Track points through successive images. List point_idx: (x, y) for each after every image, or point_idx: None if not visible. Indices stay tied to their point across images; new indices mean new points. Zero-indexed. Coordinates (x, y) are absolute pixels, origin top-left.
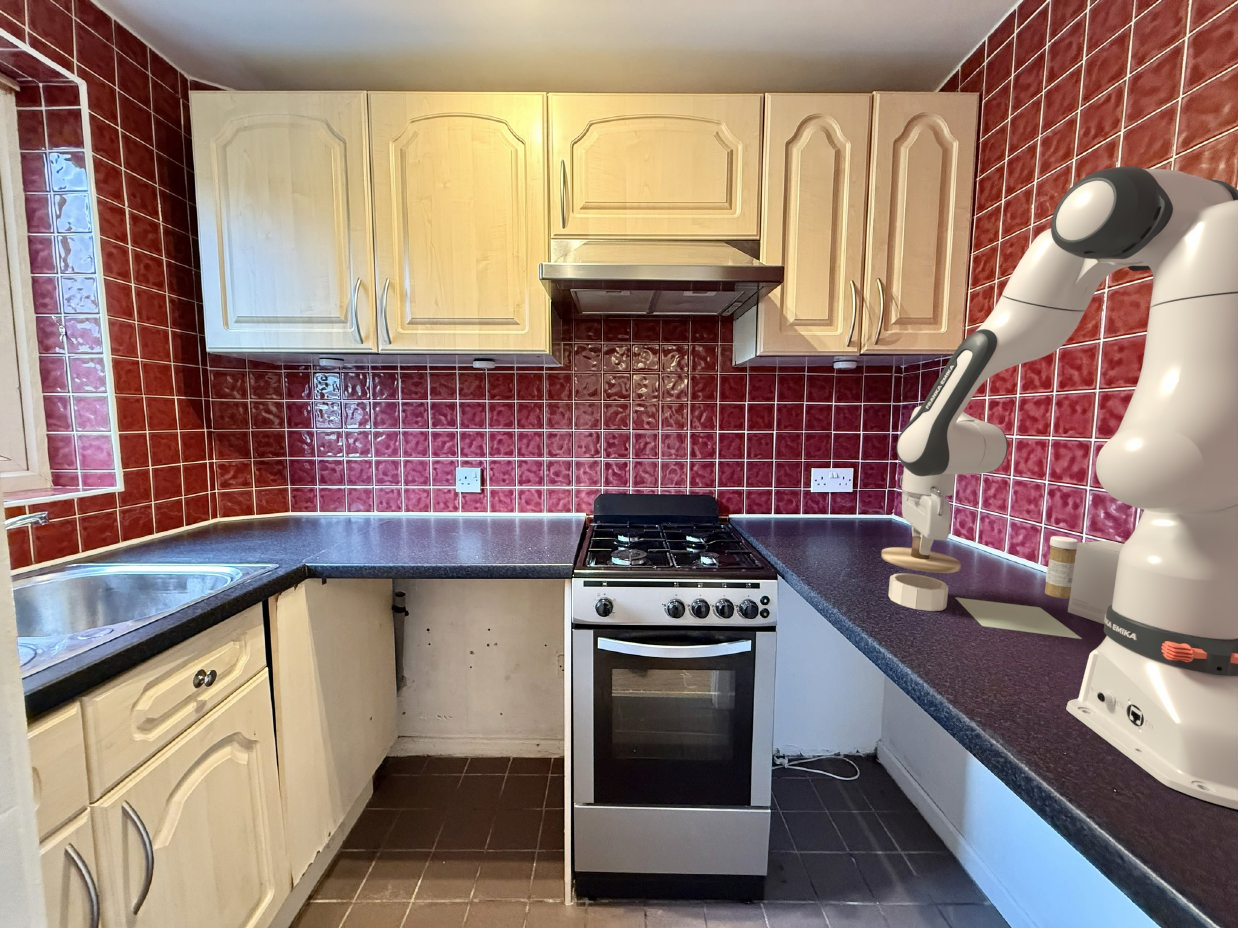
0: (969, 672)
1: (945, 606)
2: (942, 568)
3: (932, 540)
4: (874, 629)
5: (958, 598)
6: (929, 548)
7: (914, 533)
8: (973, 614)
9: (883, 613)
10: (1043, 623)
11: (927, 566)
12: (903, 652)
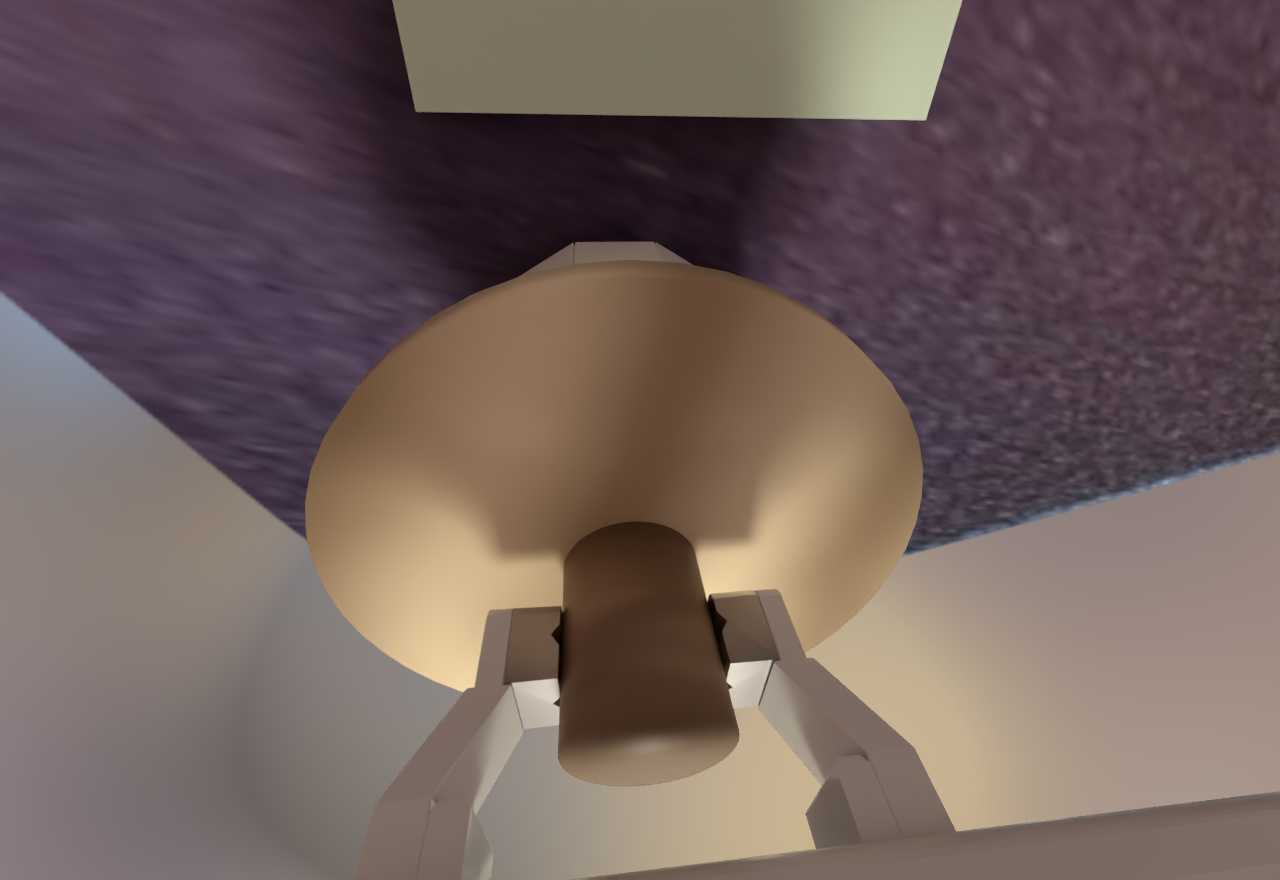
0: (1251, 334)
1: (674, 255)
2: (918, 480)
3: (891, 738)
4: None
5: (425, 89)
6: (797, 643)
7: (485, 791)
8: (746, 101)
9: None
10: None
11: (891, 558)
12: (1073, 478)
